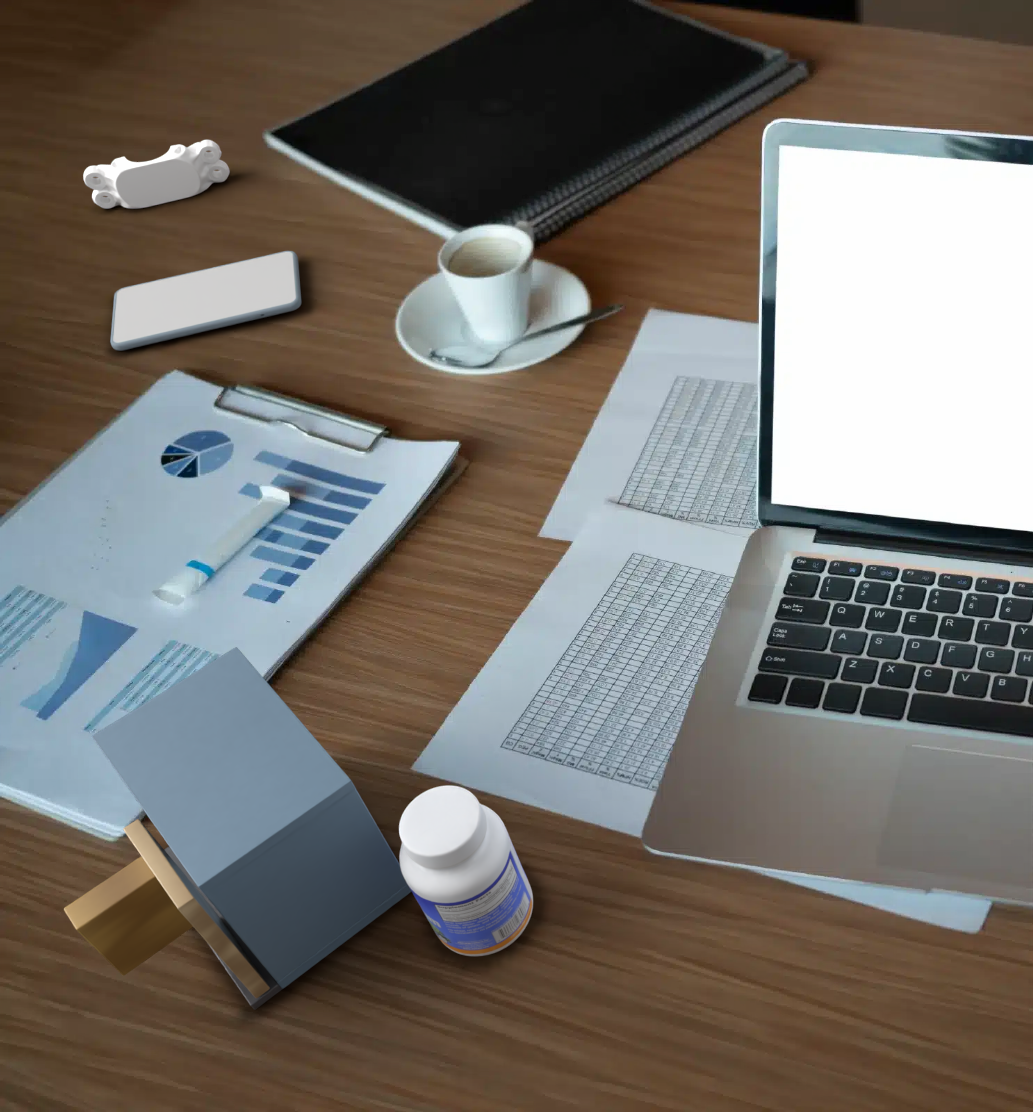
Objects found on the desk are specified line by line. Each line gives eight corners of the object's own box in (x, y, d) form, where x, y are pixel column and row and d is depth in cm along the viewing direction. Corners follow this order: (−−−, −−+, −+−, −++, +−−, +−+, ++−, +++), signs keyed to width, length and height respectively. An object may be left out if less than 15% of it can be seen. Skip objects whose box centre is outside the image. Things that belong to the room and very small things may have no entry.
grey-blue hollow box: (254, 1010, 68) (165, 910, 59) (153, 864, 74) (59, 755, 66) (414, 889, 72) (351, 780, 64) (306, 761, 78) (236, 646, 70)
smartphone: (113, 288, 110) (295, 247, 112) (119, 297, 111) (299, 257, 113) (108, 347, 104) (299, 302, 107) (114, 356, 105) (303, 312, 108)
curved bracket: (98, 218, 119) (78, 180, 116) (97, 205, 120) (77, 167, 118) (234, 186, 122) (217, 148, 119) (232, 173, 123) (215, 135, 120)
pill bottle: (430, 884, 72) (376, 789, 65) (527, 855, 73) (485, 758, 66) (441, 974, 69) (386, 883, 61) (543, 941, 69) (501, 849, 62)
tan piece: (183, 1054, 65) (93, 968, 58) (132, 973, 68) (40, 882, 61) (270, 988, 68) (193, 897, 60) (217, 913, 71) (138, 818, 63)
